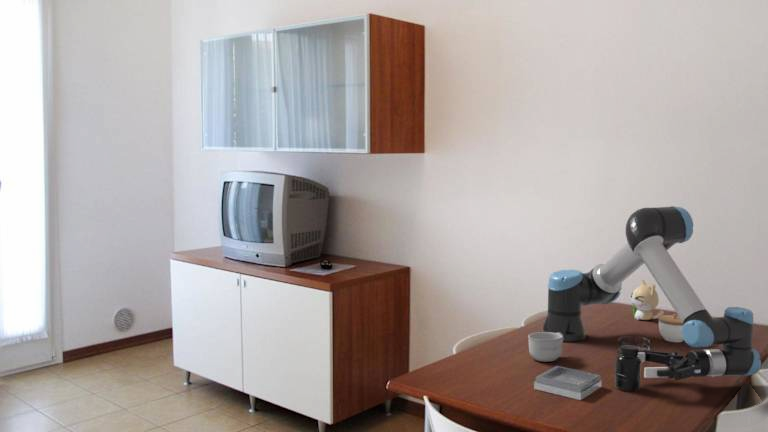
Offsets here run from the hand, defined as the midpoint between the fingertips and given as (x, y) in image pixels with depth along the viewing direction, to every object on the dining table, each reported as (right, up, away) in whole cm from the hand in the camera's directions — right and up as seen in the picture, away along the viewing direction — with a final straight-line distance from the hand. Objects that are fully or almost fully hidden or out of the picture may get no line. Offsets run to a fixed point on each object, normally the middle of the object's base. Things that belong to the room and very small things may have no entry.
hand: (633, 365), depth 206 cm
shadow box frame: (-18, -7, +1) cm, 20 cm away
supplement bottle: (-1, -7, +1) cm, 7 cm away
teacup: (-18, -4, +28) cm, 34 cm away
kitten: (+32, +1, +81) cm, 87 cm away
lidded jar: (+32, -2, +51) cm, 60 cm away
